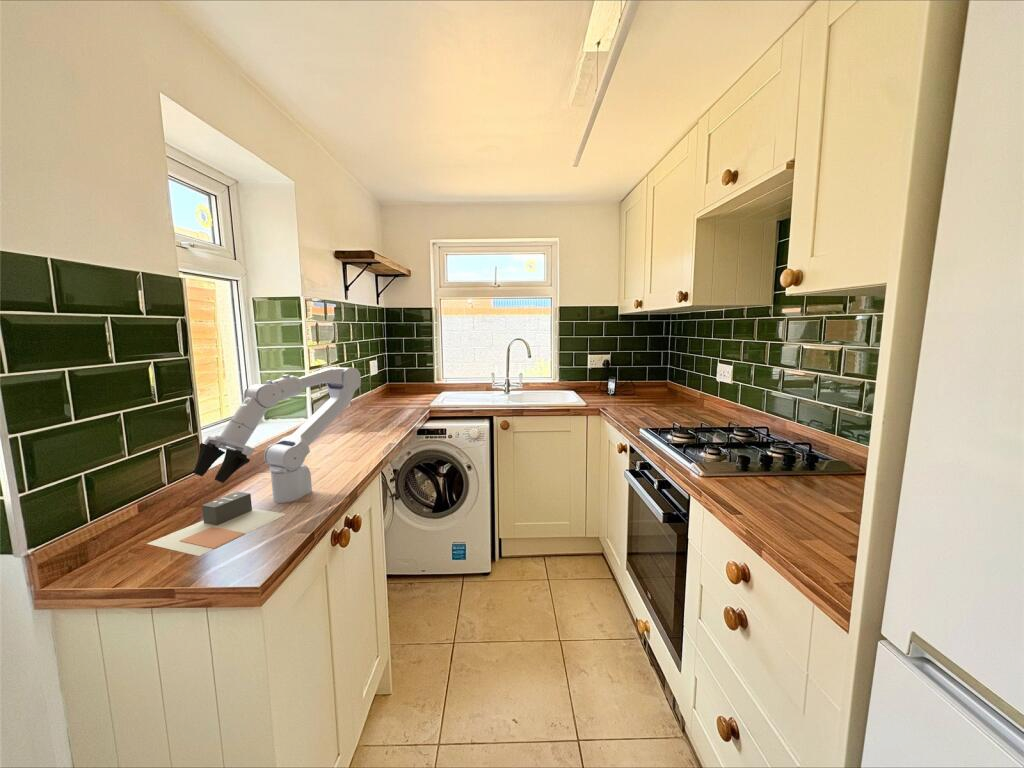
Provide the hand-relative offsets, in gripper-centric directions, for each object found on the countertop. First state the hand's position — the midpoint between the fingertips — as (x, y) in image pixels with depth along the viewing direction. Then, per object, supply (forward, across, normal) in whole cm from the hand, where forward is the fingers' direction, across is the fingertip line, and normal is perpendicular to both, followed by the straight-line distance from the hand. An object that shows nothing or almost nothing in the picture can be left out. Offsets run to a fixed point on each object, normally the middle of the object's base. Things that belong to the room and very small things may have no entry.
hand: (208, 478), depth 98 cm
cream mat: (+9, +5, +7) cm, 13 cm away
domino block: (+6, 0, +11) cm, 12 cm away
